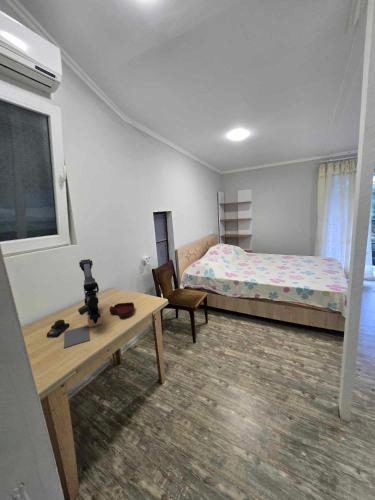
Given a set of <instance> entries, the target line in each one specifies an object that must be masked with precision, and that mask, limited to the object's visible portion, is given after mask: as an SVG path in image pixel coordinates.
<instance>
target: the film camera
mask: <svg viewBox="0 0 375 500" xmlns="http://www.w3.org/2000/svg"><path fill="white" fill-rule="evenodd" d="M65 321H66V320H64V319H59V320H58V319H57V320H56V321H55V322H54V324H52V325H51V327H50V329H49V331H47V333H46V338H47V337H49V338H58V337H60V336H61V334H63V333H64V331H67V329H68V328H69V326H70V323H68V322H67V323H66V322H65Z"/></svg>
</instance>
